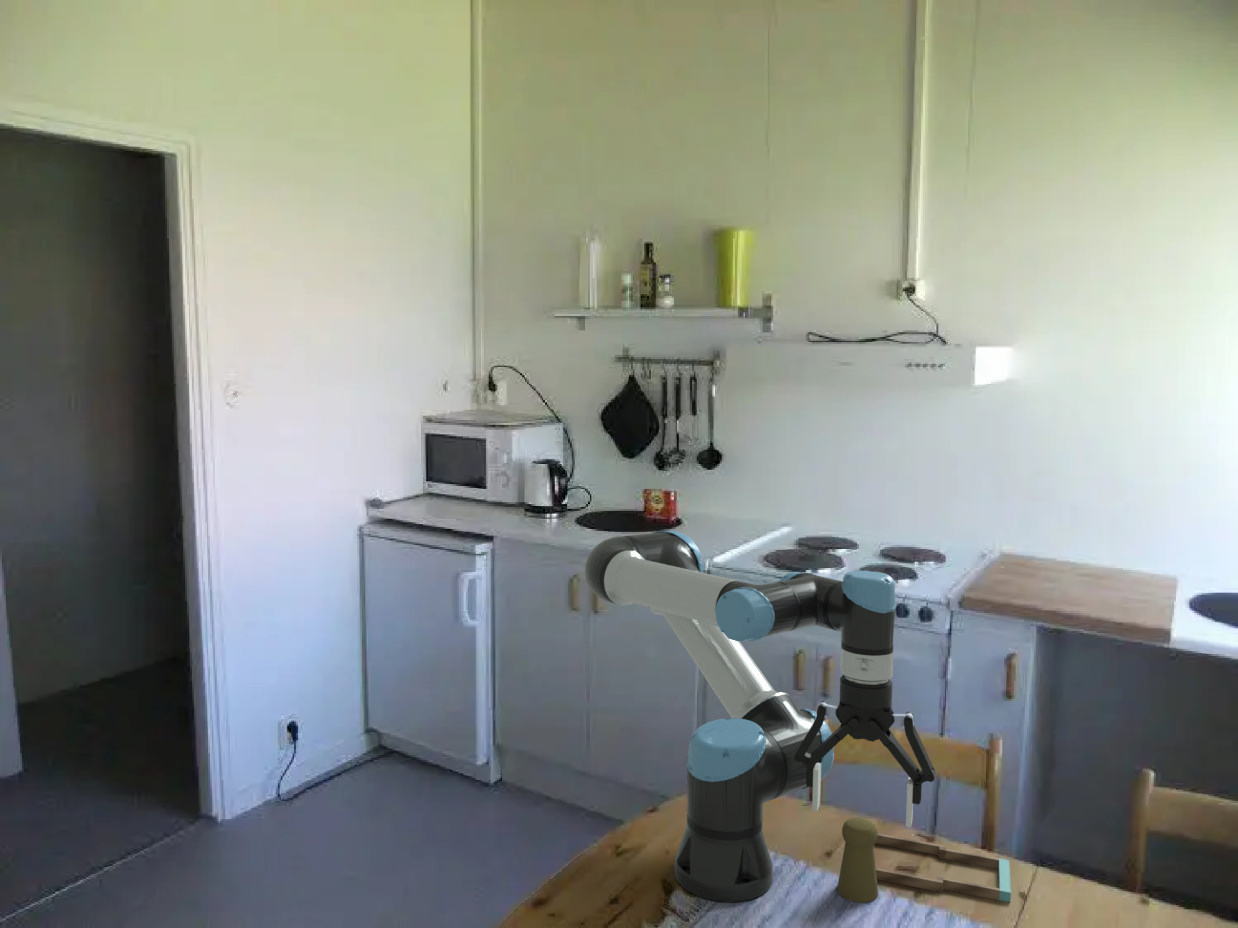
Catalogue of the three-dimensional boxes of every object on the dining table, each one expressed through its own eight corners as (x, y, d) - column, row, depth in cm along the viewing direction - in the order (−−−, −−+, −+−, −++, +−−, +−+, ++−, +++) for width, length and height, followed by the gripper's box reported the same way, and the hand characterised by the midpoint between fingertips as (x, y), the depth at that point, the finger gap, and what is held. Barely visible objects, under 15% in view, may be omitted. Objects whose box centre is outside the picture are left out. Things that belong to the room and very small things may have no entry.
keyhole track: (857, 875, 147) (857, 866, 147) (866, 840, 159) (867, 831, 158) (1010, 905, 139) (1010, 896, 139) (1008, 866, 151) (1009, 857, 150)
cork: (879, 905, 139) (882, 833, 138) (837, 899, 140) (840, 829, 139) (876, 883, 145) (879, 814, 144) (836, 878, 146) (839, 810, 145)
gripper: (777, 674, 140) (774, 811, 142) (954, 695, 131) (949, 841, 133) (787, 660, 147) (784, 791, 149) (956, 679, 138) (950, 819, 140)
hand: (861, 815), depth 141 cm, fingers open, 13 cm apart
